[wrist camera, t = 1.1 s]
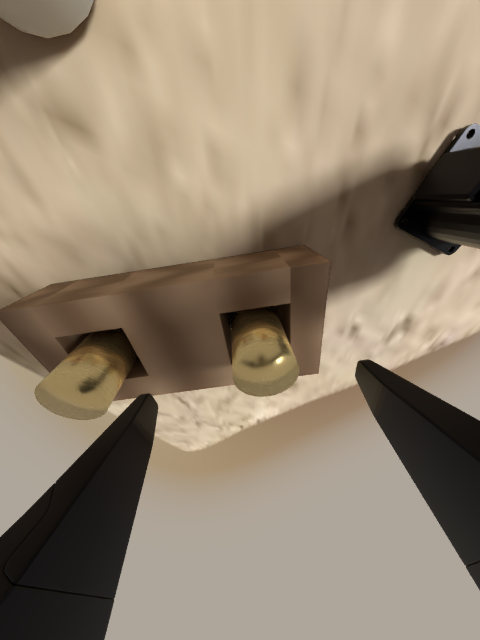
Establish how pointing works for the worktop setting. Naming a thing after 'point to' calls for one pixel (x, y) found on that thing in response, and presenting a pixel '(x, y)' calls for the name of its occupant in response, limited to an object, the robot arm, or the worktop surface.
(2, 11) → the can
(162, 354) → the walnut block
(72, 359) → the peg
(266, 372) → the peg
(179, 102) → the worktop surface
